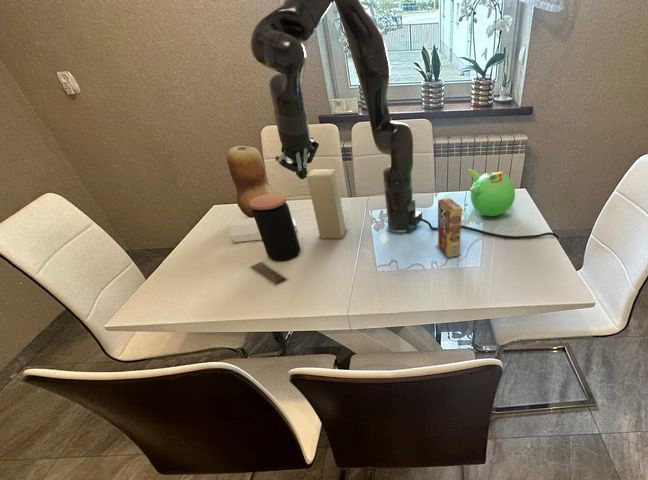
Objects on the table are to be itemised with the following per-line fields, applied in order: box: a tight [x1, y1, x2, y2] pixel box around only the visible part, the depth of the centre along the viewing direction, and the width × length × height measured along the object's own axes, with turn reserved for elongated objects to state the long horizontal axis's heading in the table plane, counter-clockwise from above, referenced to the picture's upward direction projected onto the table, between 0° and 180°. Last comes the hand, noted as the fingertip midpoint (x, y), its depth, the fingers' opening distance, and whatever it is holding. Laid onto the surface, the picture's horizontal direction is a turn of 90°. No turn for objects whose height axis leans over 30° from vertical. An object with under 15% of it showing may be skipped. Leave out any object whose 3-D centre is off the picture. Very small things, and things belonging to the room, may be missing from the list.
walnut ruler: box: [251, 262, 286, 285], centre depth 116 cm, size 15×3×1 cm, turn 46°
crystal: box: [227, 217, 298, 243], centre depth 133 cm, size 7×7×24 cm
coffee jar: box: [249, 193, 301, 262], centre depth 118 cm, size 11×11×18 cm
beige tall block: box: [306, 168, 347, 239], centre depth 127 cm, size 8×7×21 cm
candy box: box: [437, 197, 463, 258], centre depth 116 cm, size 9×4×15 cm, turn 20°
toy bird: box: [467, 168, 516, 217], centre depth 136 cm, size 18×17×15 cm
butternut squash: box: [226, 145, 274, 218], centre depth 139 cm, size 14×13×25 cm
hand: (302, 176), depth 108 cm, fingers closed
